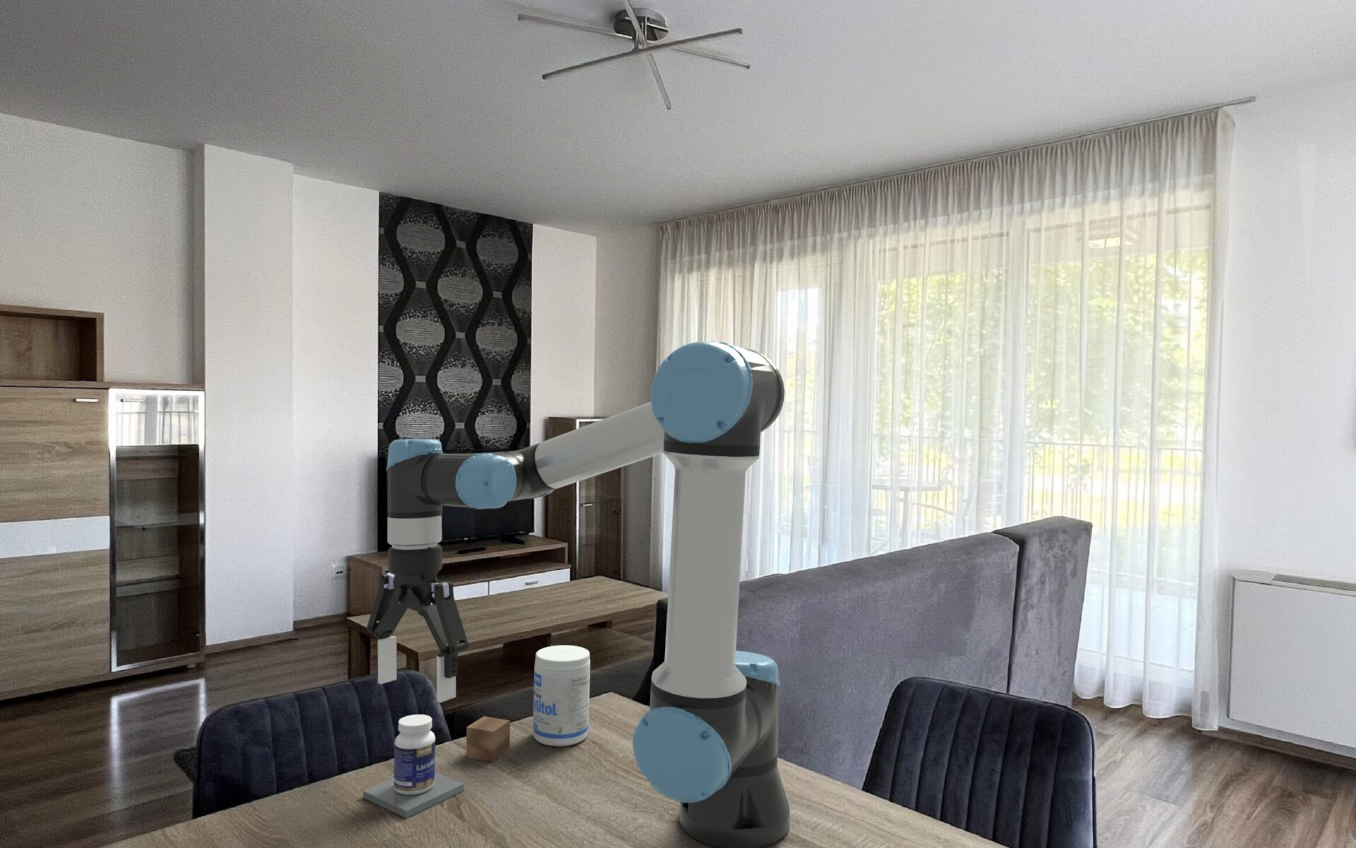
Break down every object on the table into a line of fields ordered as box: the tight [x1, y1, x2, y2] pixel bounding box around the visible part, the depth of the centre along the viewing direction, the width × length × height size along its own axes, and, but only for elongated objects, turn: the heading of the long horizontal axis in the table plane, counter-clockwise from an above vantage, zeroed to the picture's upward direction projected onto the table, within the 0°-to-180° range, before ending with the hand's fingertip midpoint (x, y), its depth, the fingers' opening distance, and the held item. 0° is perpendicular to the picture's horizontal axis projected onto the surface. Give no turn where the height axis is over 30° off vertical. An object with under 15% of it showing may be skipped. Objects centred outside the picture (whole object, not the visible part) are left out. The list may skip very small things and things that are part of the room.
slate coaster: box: [362, 771, 465, 819], centre depth 118 cm, size 10×10×1 cm
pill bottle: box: [393, 714, 436, 795], centre depth 118 cm, size 6×6×10 cm
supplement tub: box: [532, 644, 591, 747], centre depth 139 cm, size 10×10×15 cm
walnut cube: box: [465, 715, 511, 763], centre depth 132 cm, size 5×5×5 cm
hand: (415, 690), depth 117 cm, fingers open, 13 cm apart
